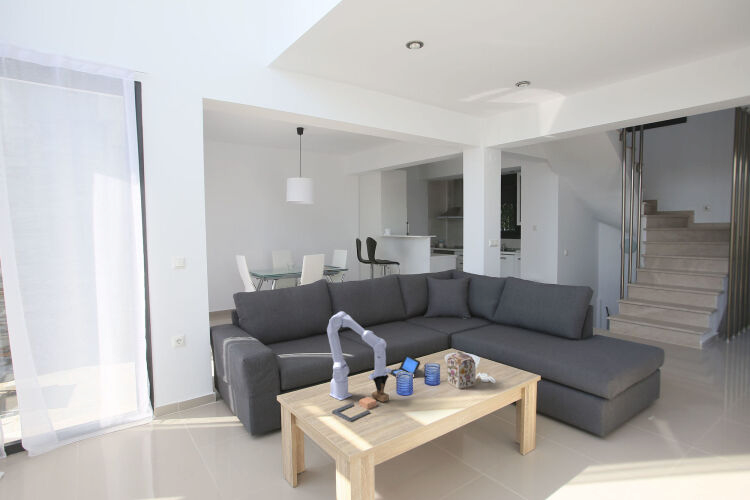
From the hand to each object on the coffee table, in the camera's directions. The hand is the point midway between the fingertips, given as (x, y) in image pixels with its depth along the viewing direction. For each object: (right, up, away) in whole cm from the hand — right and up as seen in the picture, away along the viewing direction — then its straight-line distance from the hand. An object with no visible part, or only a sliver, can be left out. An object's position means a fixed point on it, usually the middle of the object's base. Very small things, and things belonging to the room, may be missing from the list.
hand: (380, 389), depth 212 cm
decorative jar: (+45, -4, +20) cm, 50 cm away
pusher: (0, -5, 0) cm, 5 cm away
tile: (-6, -6, -6) cm, 11 cm away
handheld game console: (+15, -3, +35) cm, 39 cm away
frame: (-14, -7, -14) cm, 21 cm away
